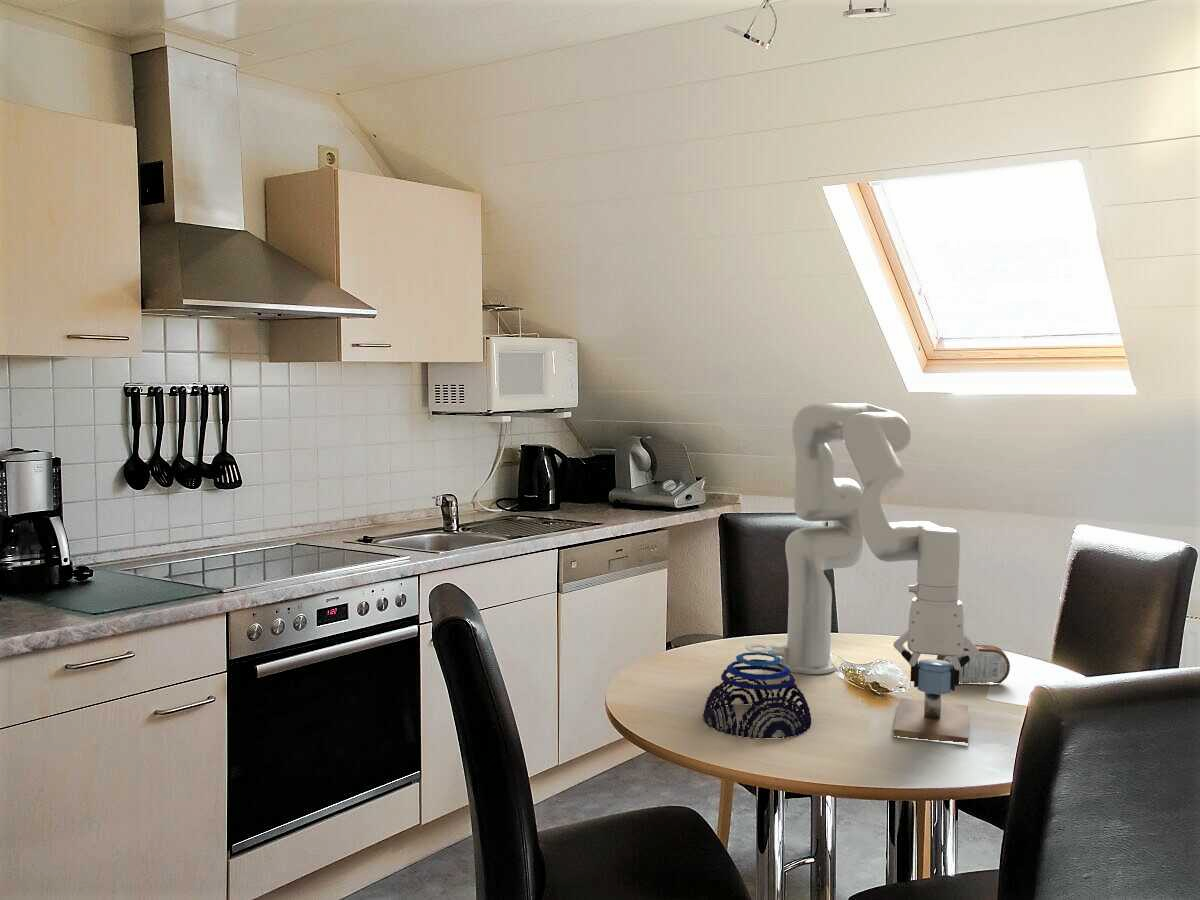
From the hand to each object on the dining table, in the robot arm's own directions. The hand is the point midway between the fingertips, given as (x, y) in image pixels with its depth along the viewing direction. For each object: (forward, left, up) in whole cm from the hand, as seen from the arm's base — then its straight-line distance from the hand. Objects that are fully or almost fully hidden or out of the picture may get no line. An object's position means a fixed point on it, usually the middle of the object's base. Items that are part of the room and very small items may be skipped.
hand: (934, 686), depth 207 cm
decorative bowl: (-32, -9, -8) cm, 34 cm away
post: (0, 0, -6) cm, 6 cm away
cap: (0, 0, -1) cm, 1 cm away
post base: (0, 0, -7) cm, 7 cm away
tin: (+7, +31, -8) cm, 33 cm away
